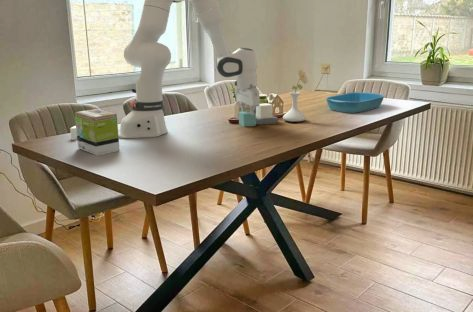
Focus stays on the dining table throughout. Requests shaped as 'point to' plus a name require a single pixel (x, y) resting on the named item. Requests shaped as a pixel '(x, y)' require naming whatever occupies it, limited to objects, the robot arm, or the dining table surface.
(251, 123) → the teal block
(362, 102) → the casserole dish
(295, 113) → the flower in vase
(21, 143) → the dining table surface
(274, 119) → the plate
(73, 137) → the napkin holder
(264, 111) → the cream block
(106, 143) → the tea box
